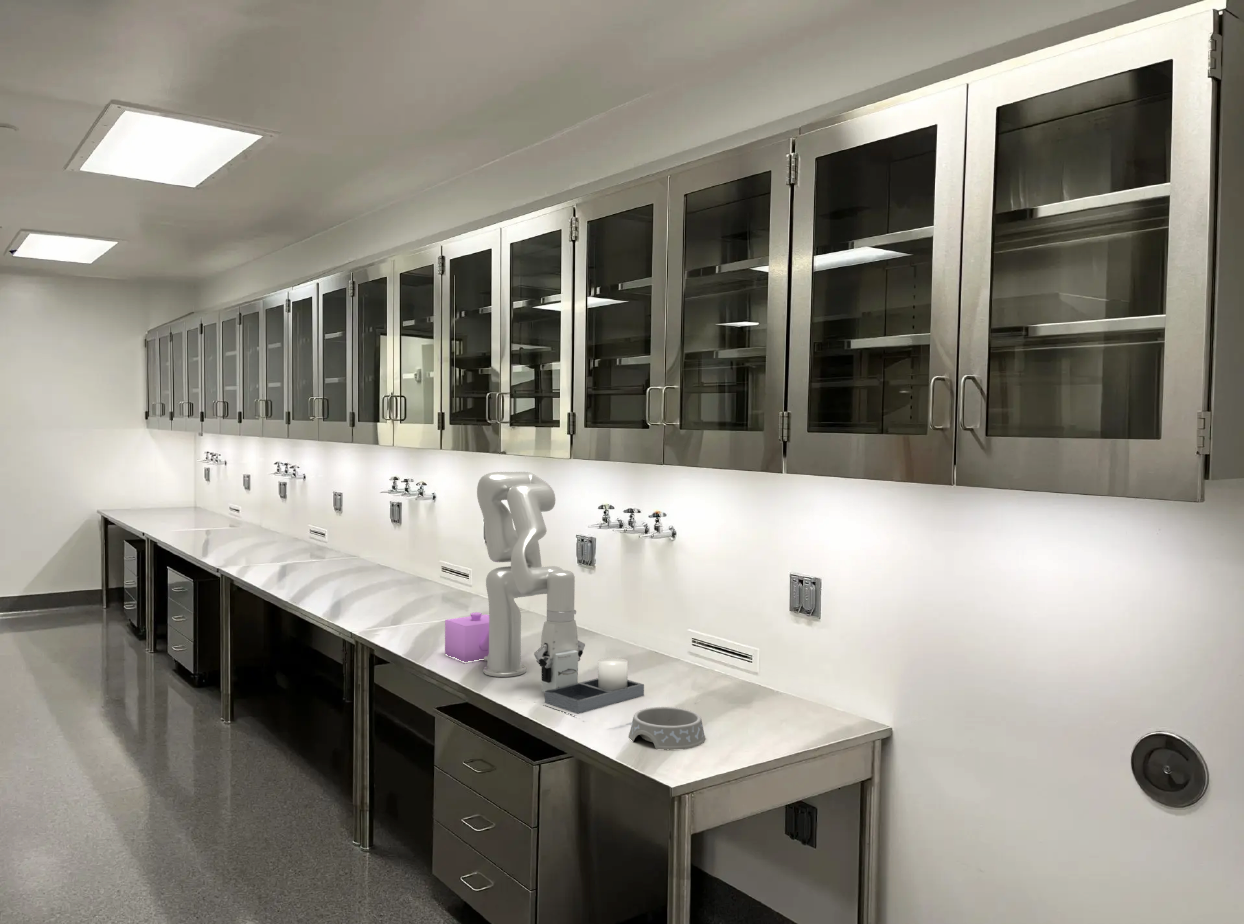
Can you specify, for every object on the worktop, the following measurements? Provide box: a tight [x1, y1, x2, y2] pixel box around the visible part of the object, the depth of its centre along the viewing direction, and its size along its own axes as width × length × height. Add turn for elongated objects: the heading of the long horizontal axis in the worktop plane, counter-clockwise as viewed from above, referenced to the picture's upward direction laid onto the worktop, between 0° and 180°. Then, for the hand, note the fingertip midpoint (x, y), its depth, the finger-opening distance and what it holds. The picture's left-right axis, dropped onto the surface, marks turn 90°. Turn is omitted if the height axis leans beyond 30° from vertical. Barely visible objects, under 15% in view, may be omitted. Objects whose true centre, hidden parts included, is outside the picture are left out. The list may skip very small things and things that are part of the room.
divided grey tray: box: [544, 677, 645, 717], centre depth 242 cm, size 13×24×4 cm, turn 135°
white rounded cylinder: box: [597, 657, 629, 692], centre depth 247 cm, size 8×8×9 cm
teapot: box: [444, 611, 489, 662], centre depth 290 cm, size 15×25×14 cm, turn 39°
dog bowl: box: [628, 706, 706, 751], centre depth 215 cm, size 17×18×5 cm
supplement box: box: [541, 650, 579, 694], centre depth 248 cm, size 7×7×13 cm
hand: (559, 678), depth 248 cm, fingers open, 9 cm apart
